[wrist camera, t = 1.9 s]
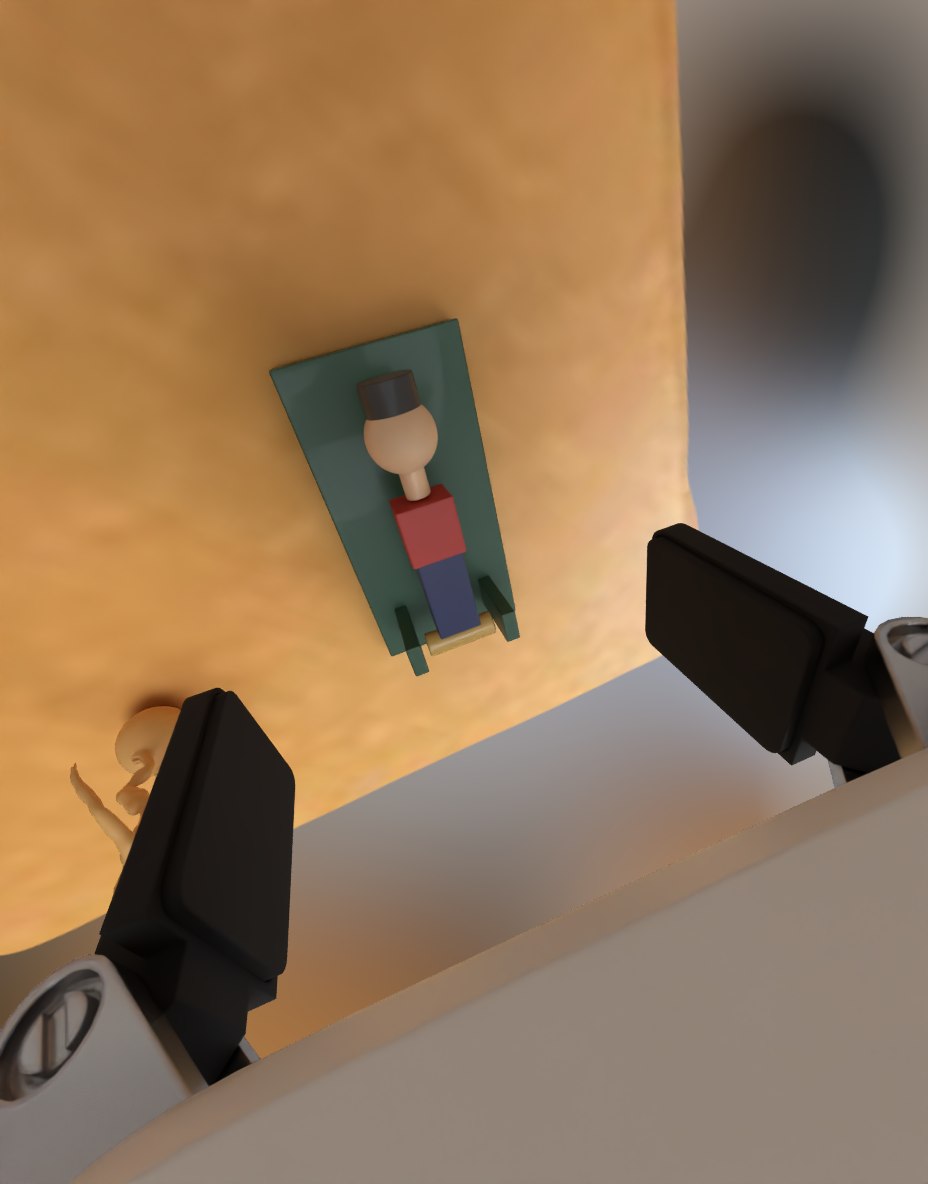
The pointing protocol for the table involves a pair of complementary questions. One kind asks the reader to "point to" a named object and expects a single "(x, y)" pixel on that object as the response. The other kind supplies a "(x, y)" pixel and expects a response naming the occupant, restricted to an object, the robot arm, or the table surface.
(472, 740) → the table surface
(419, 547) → the toy soldier
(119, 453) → the table surface
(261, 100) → the table surface
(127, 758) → the figurine
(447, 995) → the robot arm
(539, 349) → the table surface
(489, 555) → the stand
